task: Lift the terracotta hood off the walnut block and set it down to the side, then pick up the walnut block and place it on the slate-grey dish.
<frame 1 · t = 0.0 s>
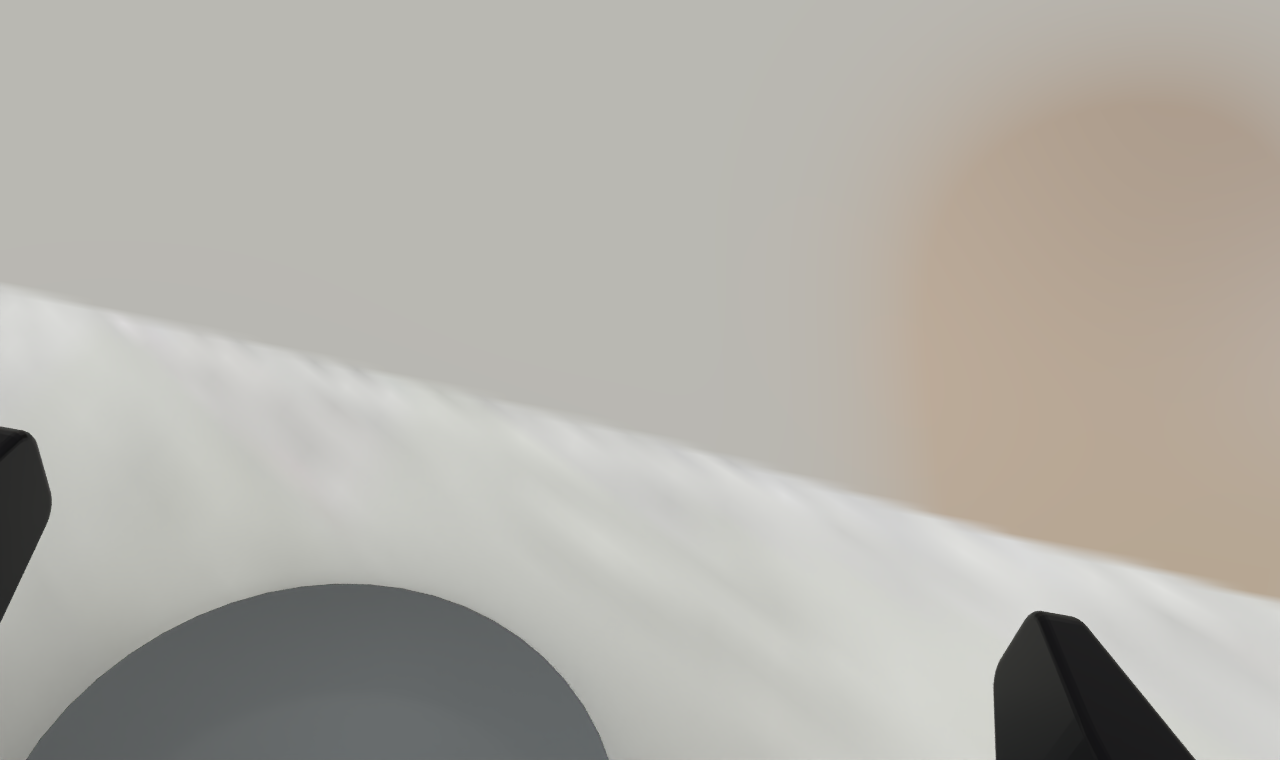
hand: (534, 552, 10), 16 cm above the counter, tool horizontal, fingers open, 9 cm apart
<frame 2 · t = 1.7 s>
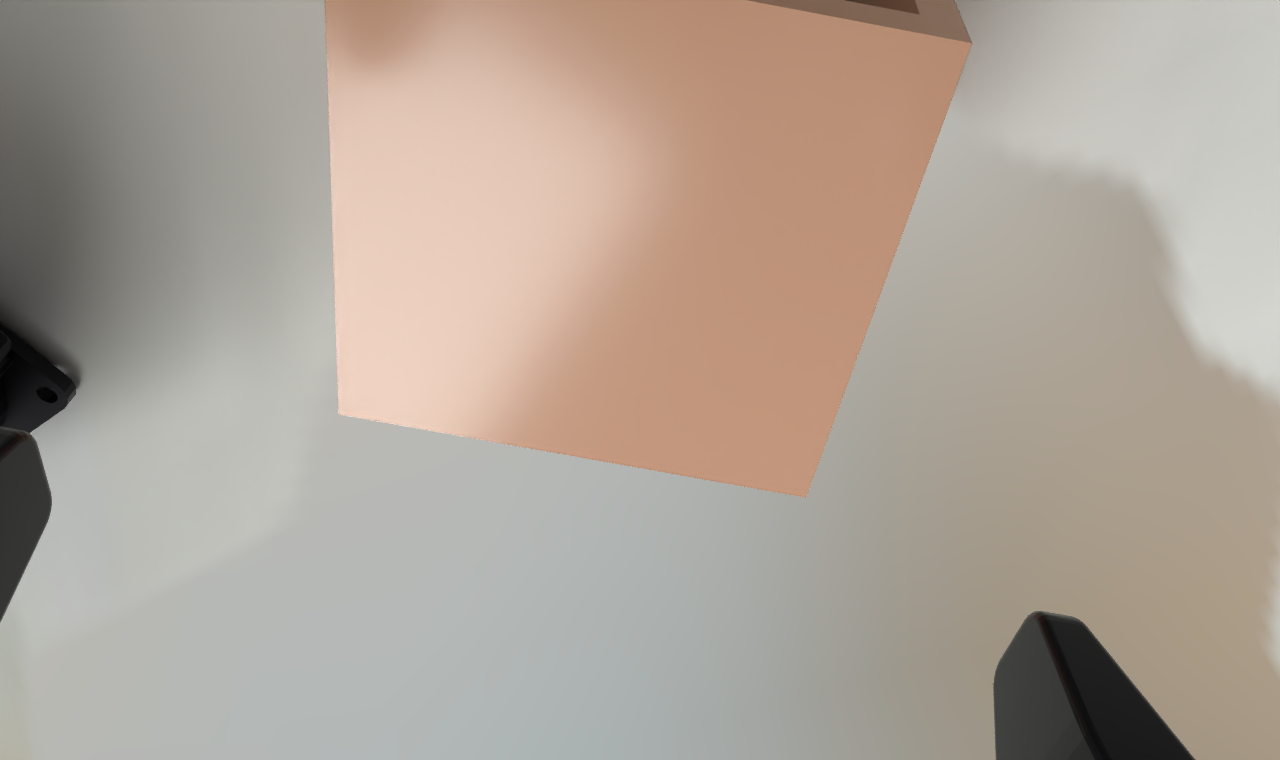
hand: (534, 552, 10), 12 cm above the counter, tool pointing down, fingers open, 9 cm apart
terracotta hood: (653, 39, 19), on the counter
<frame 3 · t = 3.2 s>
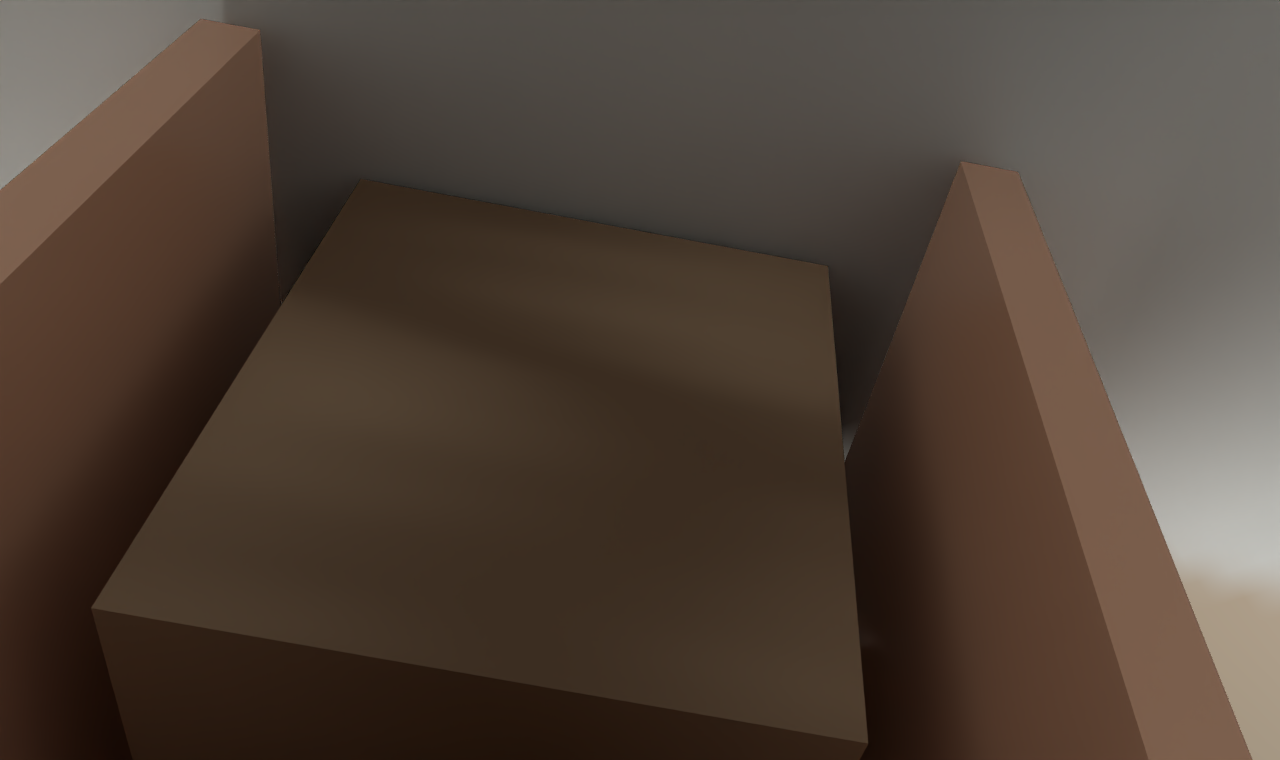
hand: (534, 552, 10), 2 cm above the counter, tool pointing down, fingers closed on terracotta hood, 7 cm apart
terracotta hood: (567, 406, 11), on the counter, touching gripper
walnut block: (527, 582, 9), in the terracotta hood
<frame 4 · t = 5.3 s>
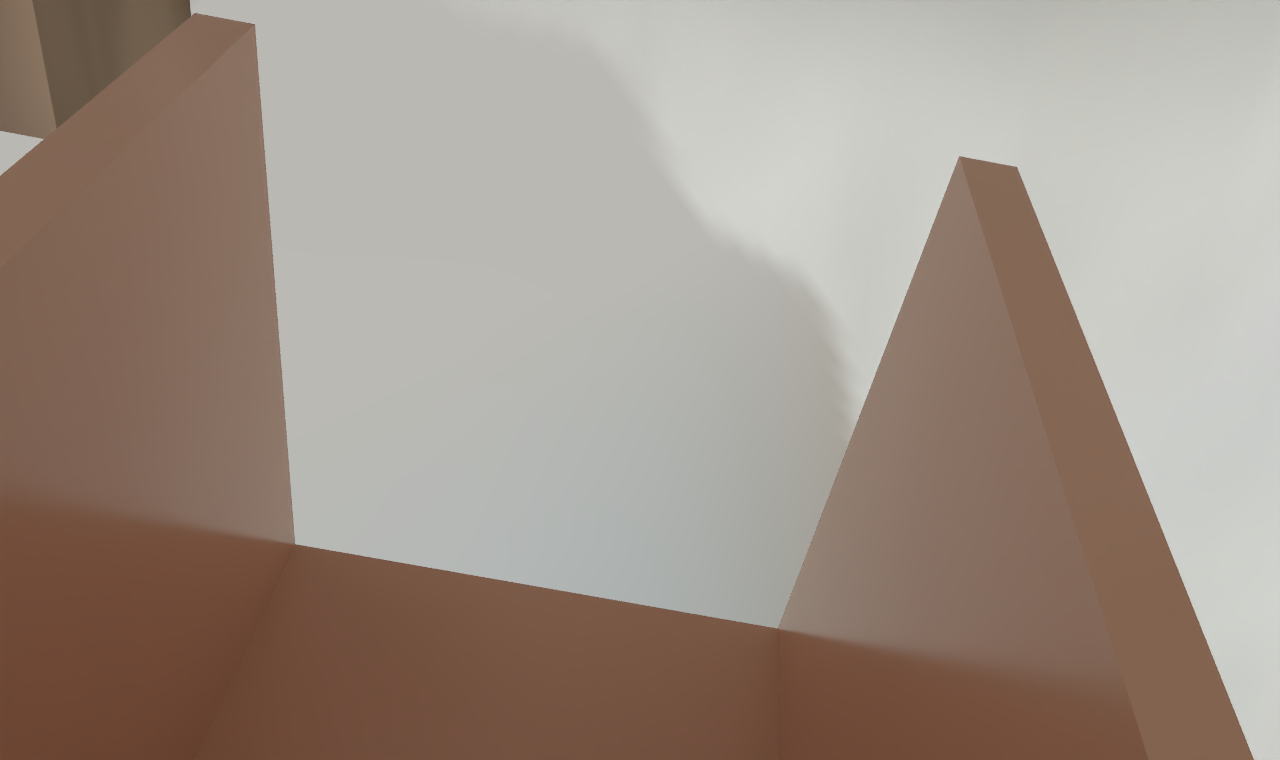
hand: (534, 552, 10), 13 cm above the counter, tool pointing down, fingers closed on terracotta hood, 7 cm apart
terracotta hood: (564, 403, 11), point 11 cm above the counter, touching gripper
when the fingers open (3 cm above the counter, at t = 7.7 s): terracotta hood drops 1 cm, on the counter.
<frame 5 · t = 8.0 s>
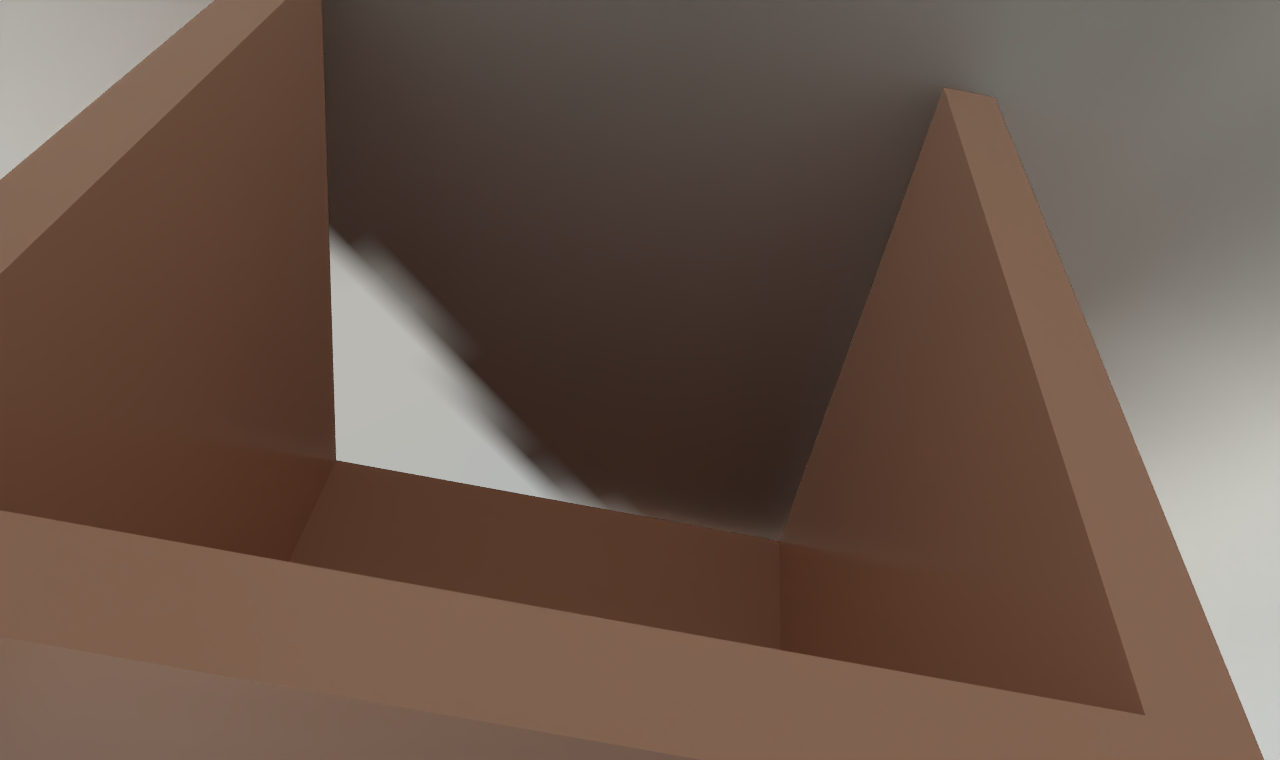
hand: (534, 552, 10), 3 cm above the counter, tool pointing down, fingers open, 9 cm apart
terracotta hood: (587, 321, 12), on the counter
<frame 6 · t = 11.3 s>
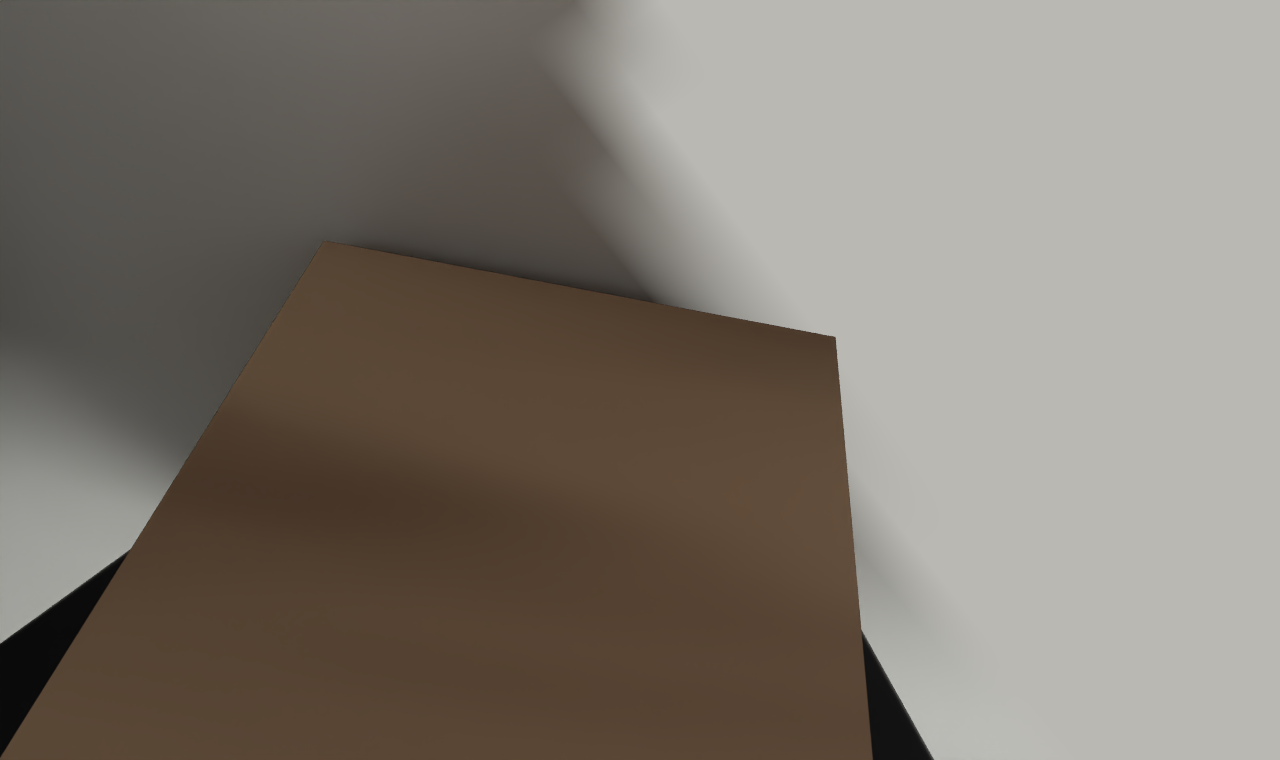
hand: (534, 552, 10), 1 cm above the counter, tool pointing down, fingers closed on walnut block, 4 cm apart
walnut block: (504, 690, 8), on the counter, touching gripper
when the fingers open (3 cm above the counter, at t = 15.2 s): walnut block drops 1 cm, resting on slate dish.
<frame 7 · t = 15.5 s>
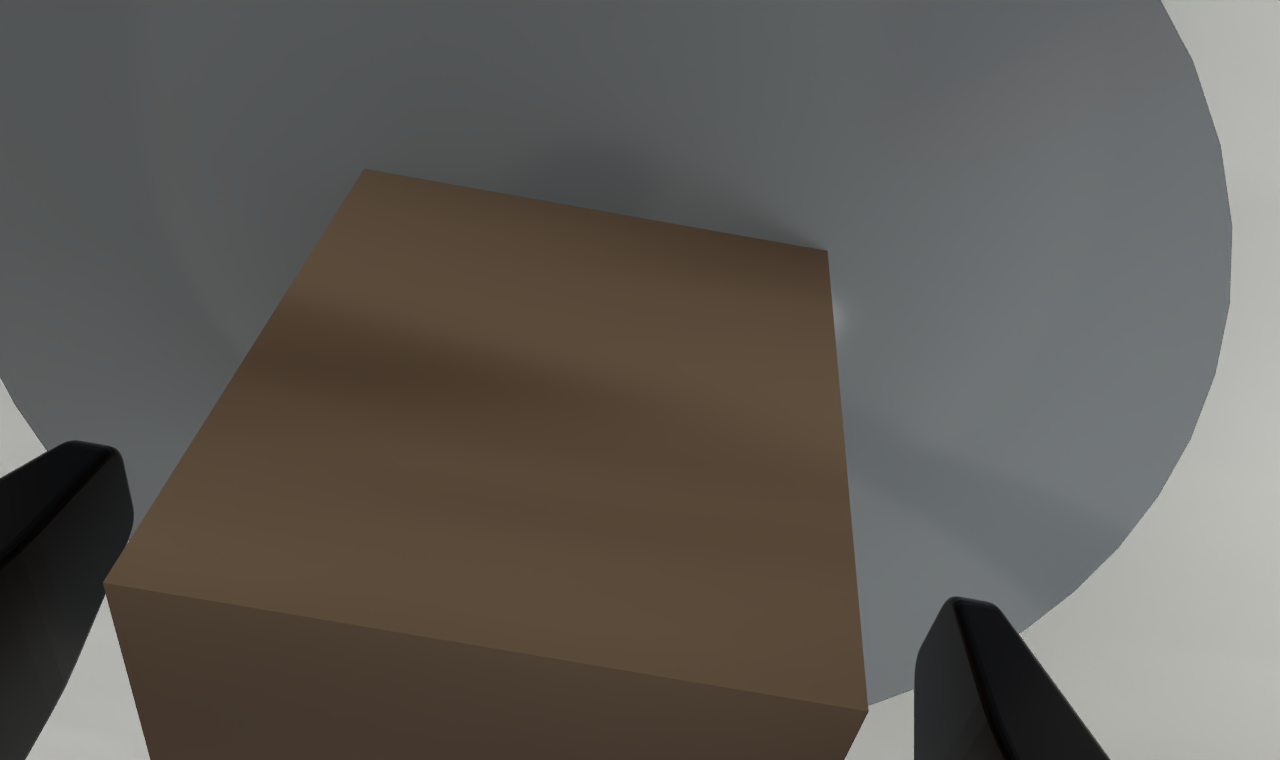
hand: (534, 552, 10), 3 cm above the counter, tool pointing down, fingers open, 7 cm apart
slate dish: (582, 325, 12), on the counter
walnut block: (532, 565, 9), on the slate dish, point 4 cm above the counter
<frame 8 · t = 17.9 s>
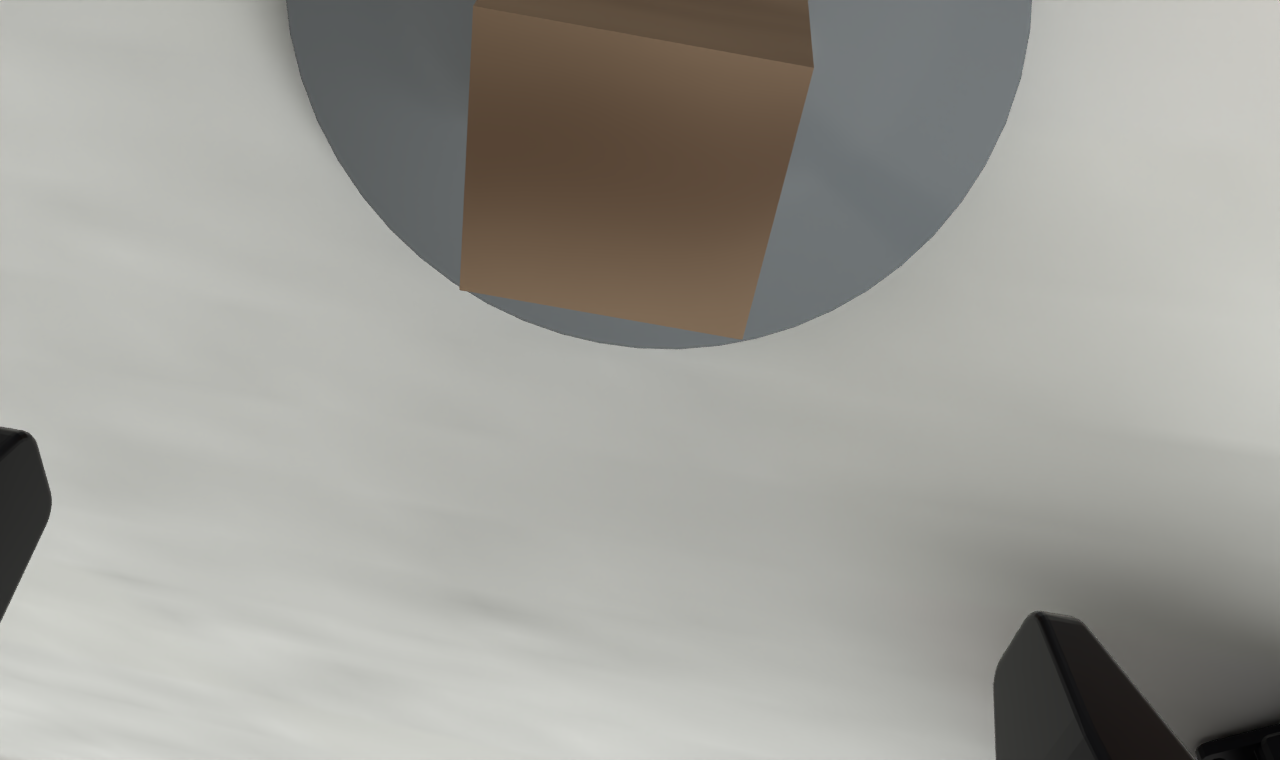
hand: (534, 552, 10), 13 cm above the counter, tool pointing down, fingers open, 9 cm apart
slate dish: (653, 30, 20), on the counter
walnut block: (637, 113, 17), on the slate dish, point 4 cm above the counter
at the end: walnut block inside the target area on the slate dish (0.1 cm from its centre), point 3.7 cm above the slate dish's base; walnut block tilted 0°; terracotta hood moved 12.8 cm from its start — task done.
